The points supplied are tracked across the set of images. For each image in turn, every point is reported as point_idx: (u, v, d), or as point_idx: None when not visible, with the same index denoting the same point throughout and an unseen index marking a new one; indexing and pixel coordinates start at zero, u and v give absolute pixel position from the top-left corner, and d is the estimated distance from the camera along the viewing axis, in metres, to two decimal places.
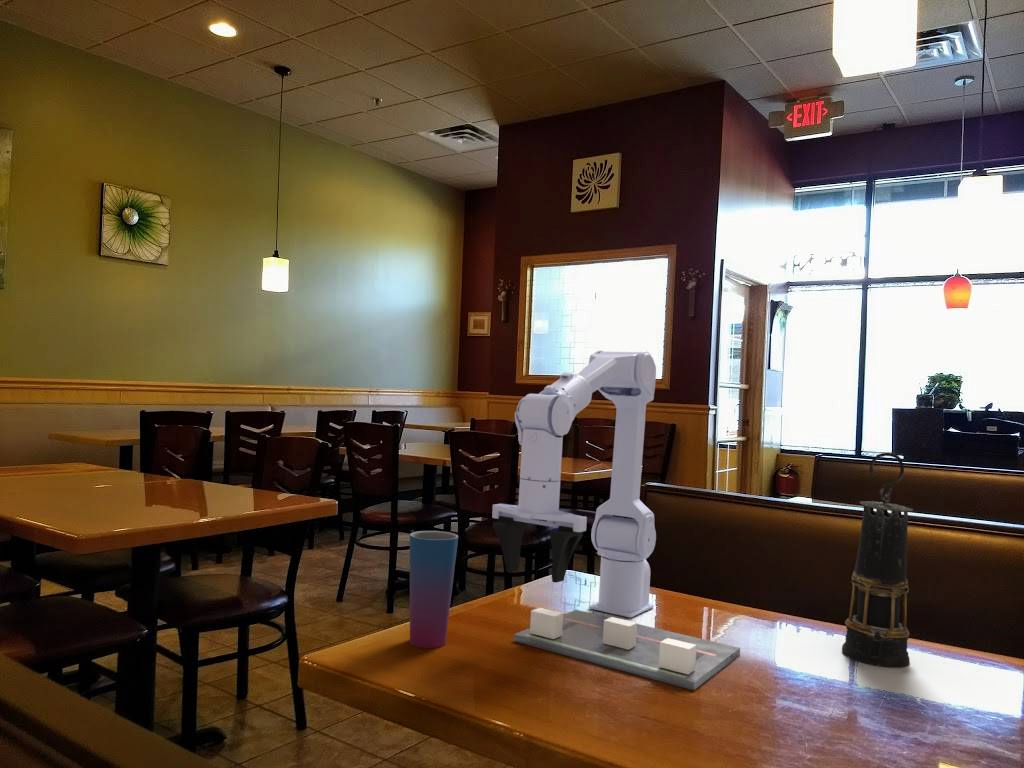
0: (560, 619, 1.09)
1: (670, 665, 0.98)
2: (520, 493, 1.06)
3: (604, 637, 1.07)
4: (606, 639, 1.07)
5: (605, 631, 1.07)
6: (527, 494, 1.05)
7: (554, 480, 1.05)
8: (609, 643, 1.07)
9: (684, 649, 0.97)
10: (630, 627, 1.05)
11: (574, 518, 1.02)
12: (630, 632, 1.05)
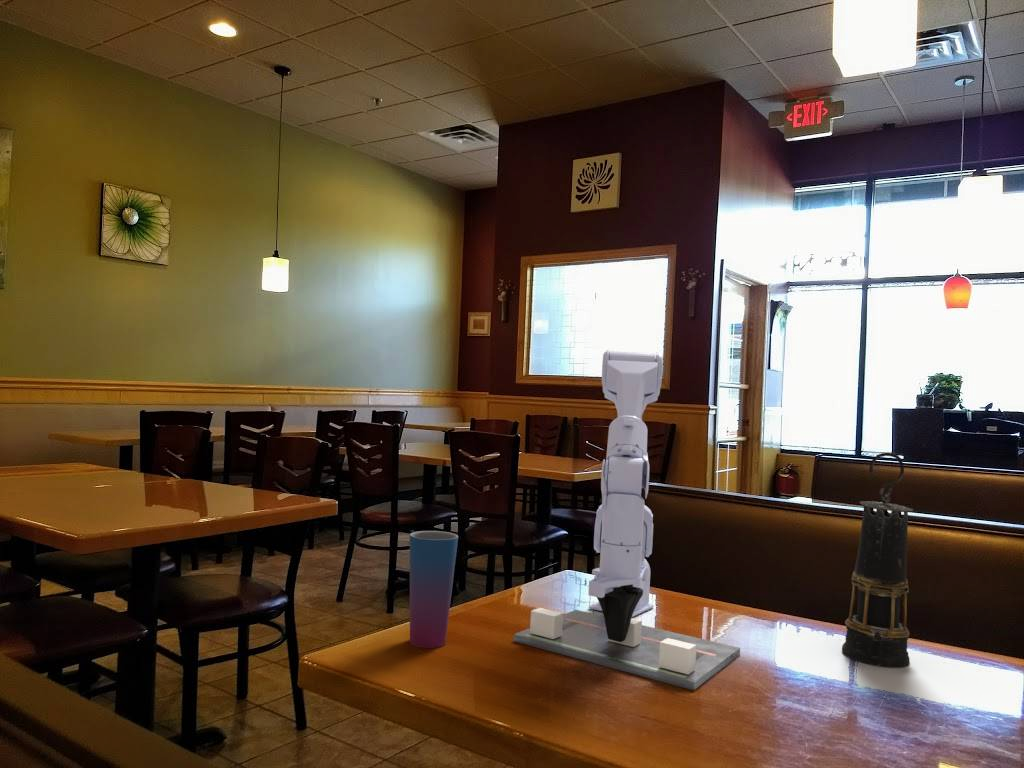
0: (560, 619, 1.09)
1: (670, 665, 0.98)
2: None
3: None
4: None
5: None
6: None
7: (608, 542, 1.05)
8: None
9: (684, 649, 0.97)
10: (634, 625, 1.06)
11: (591, 580, 1.02)
12: (635, 630, 1.06)
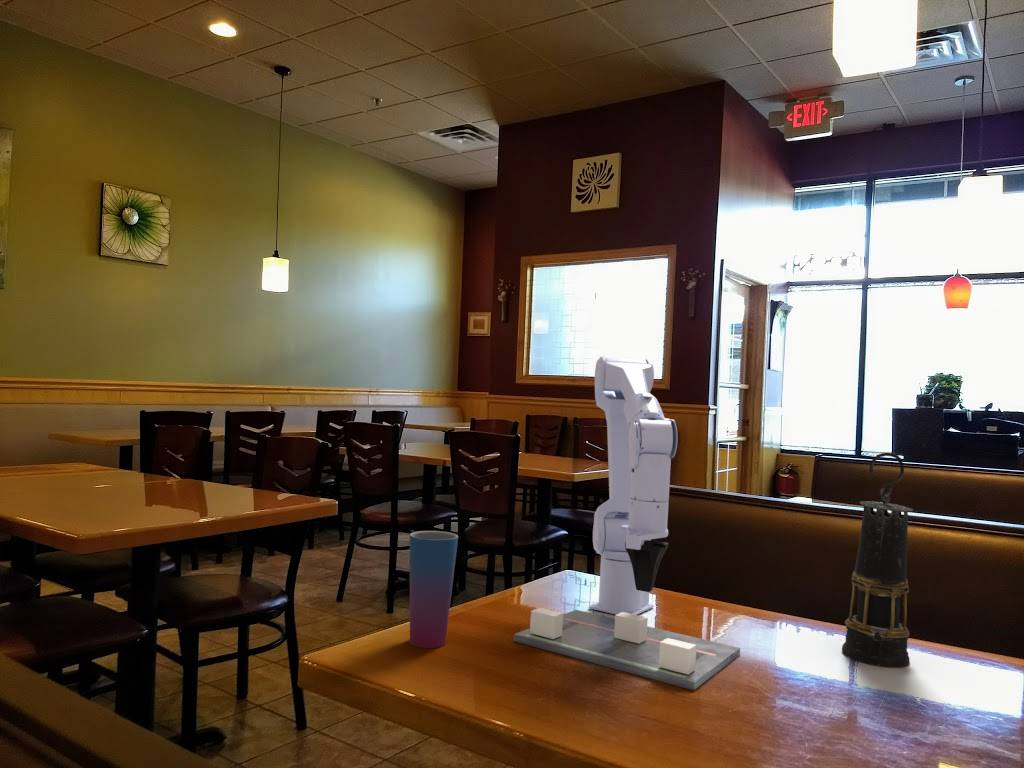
0: (560, 619, 1.09)
1: (670, 665, 0.98)
2: None
3: (615, 631, 1.10)
4: (617, 633, 1.10)
5: (616, 626, 1.10)
6: None
7: (639, 499, 1.12)
8: (620, 637, 1.09)
9: (684, 649, 0.97)
10: (640, 622, 1.08)
11: None
12: (641, 627, 1.08)
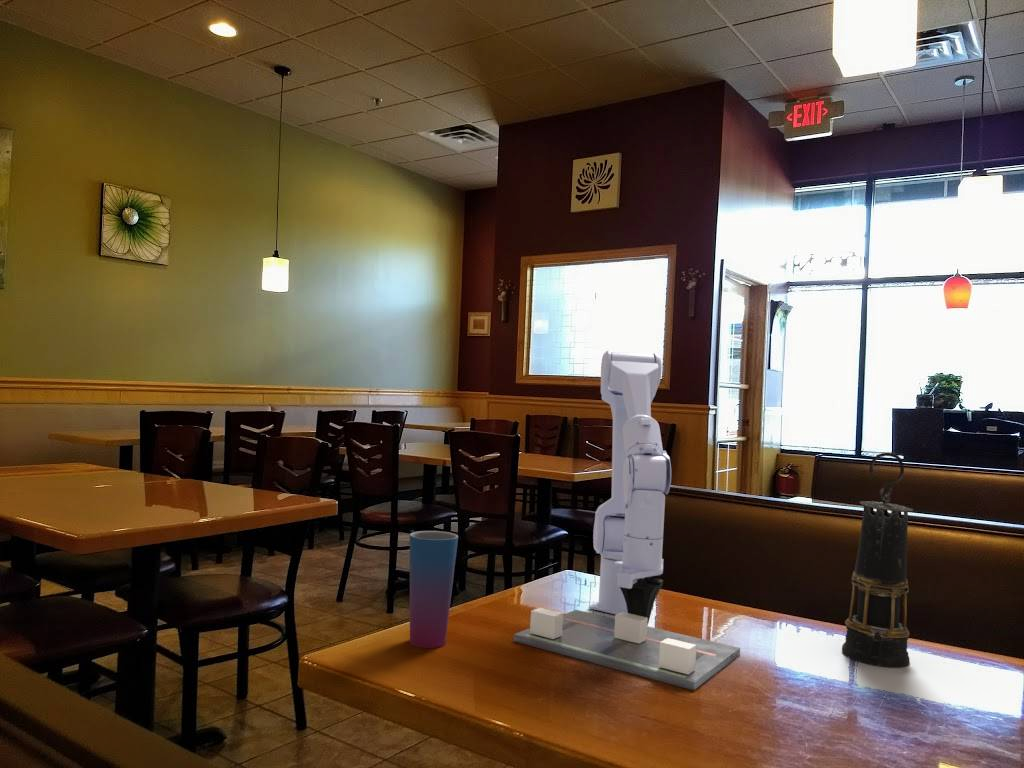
0: (560, 619, 1.09)
1: (670, 665, 0.98)
2: None
3: (615, 631, 1.10)
4: (617, 633, 1.10)
5: (616, 626, 1.10)
6: None
7: (632, 536, 1.10)
8: (620, 637, 1.09)
9: (684, 649, 0.97)
10: (640, 622, 1.08)
11: (619, 572, 1.07)
12: (641, 627, 1.08)
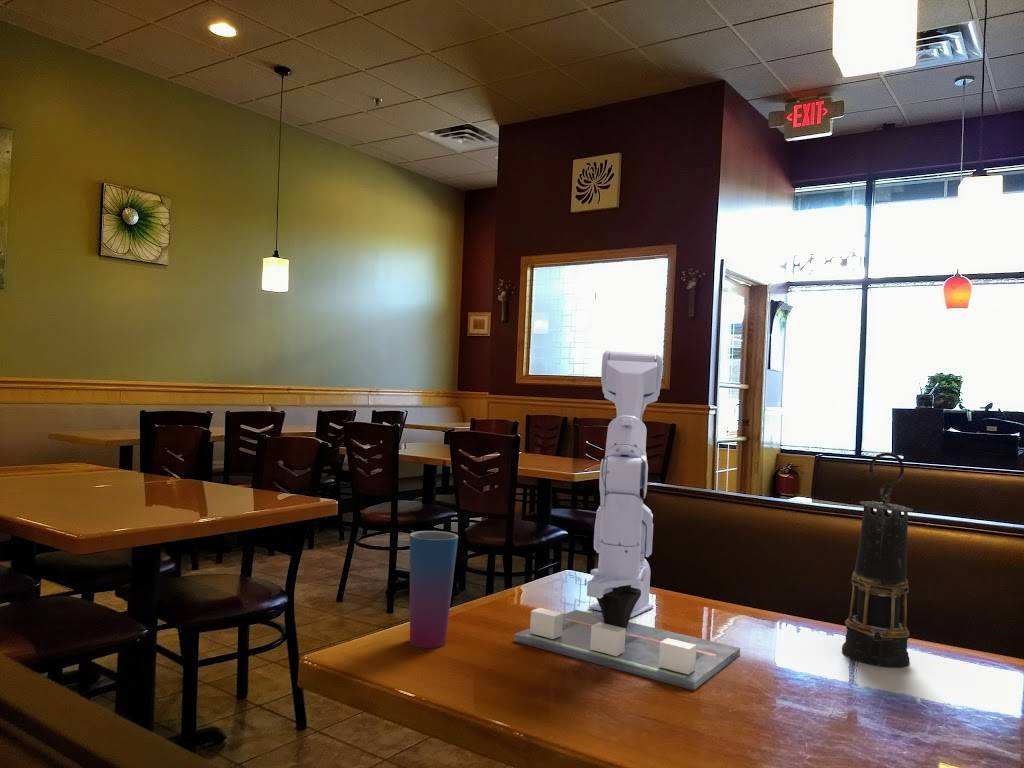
0: (560, 619, 1.09)
1: (670, 665, 0.98)
2: None
3: (592, 643, 1.04)
4: (594, 645, 1.04)
5: (593, 637, 1.04)
6: None
7: (607, 543, 1.04)
8: (597, 649, 1.03)
9: (684, 649, 0.97)
10: (618, 633, 1.02)
11: (589, 581, 1.01)
12: (618, 638, 1.02)
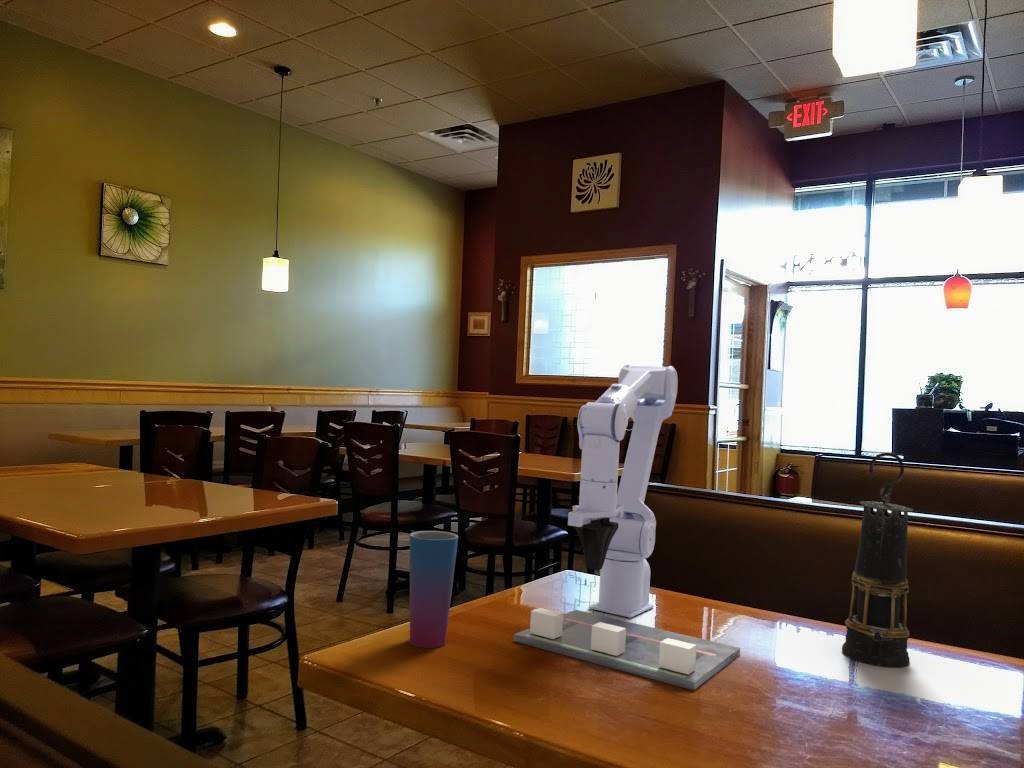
0: (560, 619, 1.09)
1: (670, 665, 0.98)
2: None
3: (592, 643, 1.04)
4: (594, 645, 1.04)
5: (593, 637, 1.04)
6: None
7: (586, 479, 1.15)
8: (597, 649, 1.04)
9: (684, 649, 0.97)
10: (618, 633, 1.02)
11: None
12: (618, 638, 1.02)
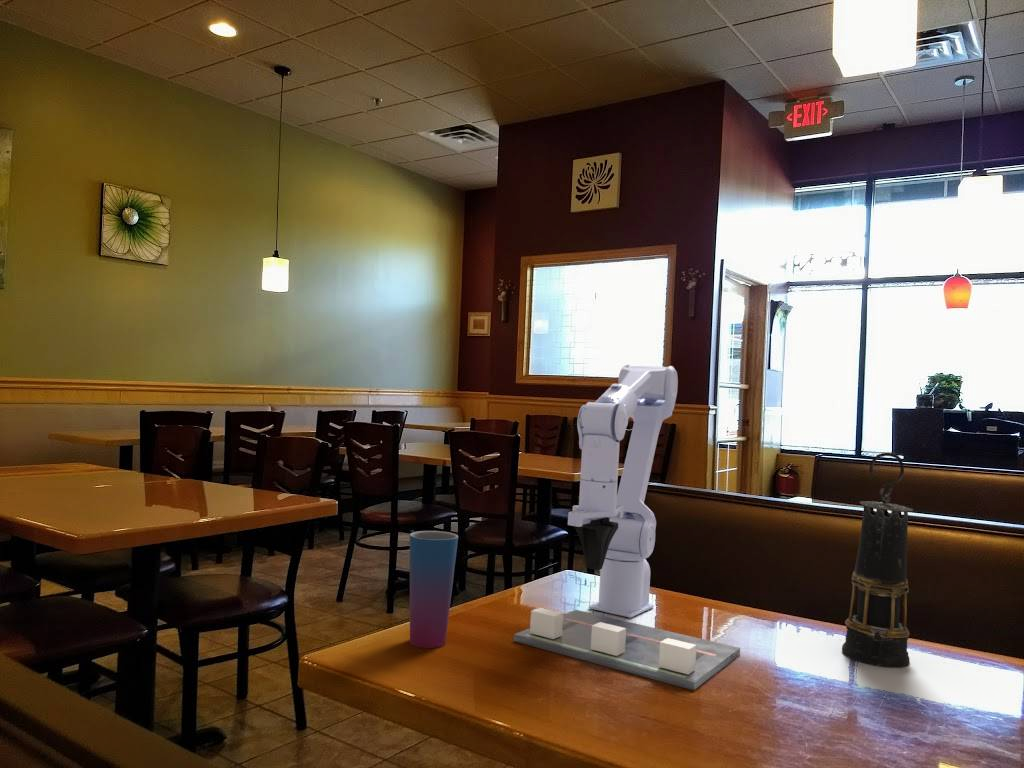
0: (560, 619, 1.09)
1: (670, 665, 0.98)
2: None
3: (592, 643, 1.04)
4: (594, 645, 1.04)
5: (593, 637, 1.04)
6: None
7: (586, 479, 1.15)
8: (597, 649, 1.04)
9: (684, 649, 0.97)
10: (618, 633, 1.02)
11: None
12: (618, 638, 1.02)
